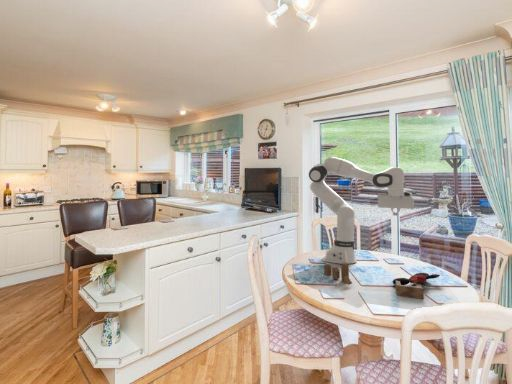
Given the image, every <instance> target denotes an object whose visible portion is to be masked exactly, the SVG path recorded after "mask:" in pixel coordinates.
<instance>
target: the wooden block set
mask: <svg viewBox="0 0 512 384" xmlns="http://www.w3.org/2000/svg"><path fill="white" fill-rule="evenodd" d="M349 264H350V263H349ZM349 264H348V263H347V262H342V263H341V264H340V268H339V267H338V266H333V267H332V264H328V263H326V264H324V265H323V275H324V276H325V277H331V276H332V277H331V278H332V279H334V280H339V279H340V278H341V282H342V283H343V284H345V285H351V284H353V282H352V281H351V279H350V277H349V276H350V271H349V270H350V269H349V267H350V266H349ZM340 276H341V277H340Z"/></svg>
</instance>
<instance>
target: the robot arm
mask: <svg viewBox="0 0 512 384" xmlns="http://www.w3.org/2000/svg"><path fill="white" fill-rule="evenodd" d="M328 174H333V175H337V176H339V177H343V178H350V179H352V178H353V179H354V178H355V179H359V180H361V181H365V182H368V183H369V184H371V185H372V186H374V188H377V189H385V188H386V187H387V192H384V193H383V192H380V193H377V200H378V201H377V207H378V208H381V209H382V208H386V209H390V210H391V213H392V216H397V217H398V216H399V213H400V211H401V209H405V210H407V209H409V210H410V209H411V210H414V209H415V200H414V198H413V193H412V192H410V191H408V190H405V187H404V183H405V173H404V170H403V169H402V168H401V167H396V166H391V167H388V169H385V170H383V171H381V172H378V173H374V172H373V173H372V172H369V171H367V170H363V169H361V168H359V167H358V166H356V165H355V164H354V163H353V162H351V161H349V160H346V159H344V158H339V157H335V156H329V157H327V158H326V159H324V162H323V163H318V164H316V165H313V167H312V168H311V169H310V170H309V172H308V178H309V179H310V181H311V184H310V186H309V188H310V190H311V192H312V193H313V194H314V196H315V197H316V198H317V199H318V200H319V201H321V202H322V203H323V204H324V206H326V207H327V208H328V209H330V211H331V212H333V214H335V215H336V217H337V218H336V220H337V221H336V223H337V225H336V239H334V240H333V245H332V246H331V247H330V248H328V249H327V250H326V252H325V256H323V257H322V259H321V260H322V261H323V262H326V263H327V262H328V263H335V264H340V265H341V263H342V262H347V263H348V264H355V263H357V258H356V253H355V248H356V242H355V218H356V217H355V215H356V213H355V212H356V211H355V209H354V208H353V206H351V205H350V204H348V203H347V202H346V201H345V200H344V199H343V198H342V197H341V196H340V195H339V194H338V193H337V192H336V191H334V190H333V189H332V188H331V187H330V186H329V185H328V184H327V183H326V182H325V181H326V180H327V177H328ZM394 209H397V211H395V212H394Z"/></svg>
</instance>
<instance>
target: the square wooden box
mask: <svg viewBox="0 0 512 384" xmlns="http://www.w3.org/2000/svg"><path fill="white" fill-rule="evenodd" d="M414 284H415V286H413V285H401V283H400V281H396V285H395V292H396V297H403V298H413V299H418V300H419V299H421V300H424V287H422V283H414Z"/></svg>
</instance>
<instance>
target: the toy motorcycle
mask: <svg viewBox="0 0 512 384" xmlns="http://www.w3.org/2000/svg"><path fill="white" fill-rule="evenodd" d="M439 277H441V275H440V274H436V273H434V274H433V273H432V274H429V273H427V272H417V273H414V274H413V275H411V276H410V277H409V278H406V277H398V278H397V277H396V278H394V279H392V284H394V285H395V286H396V281H400V283H401V285H406V286H408V284H409V283H410V284H415V283H420V284H423V283H425V282H427V280H431V279H437V278H439Z"/></svg>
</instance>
